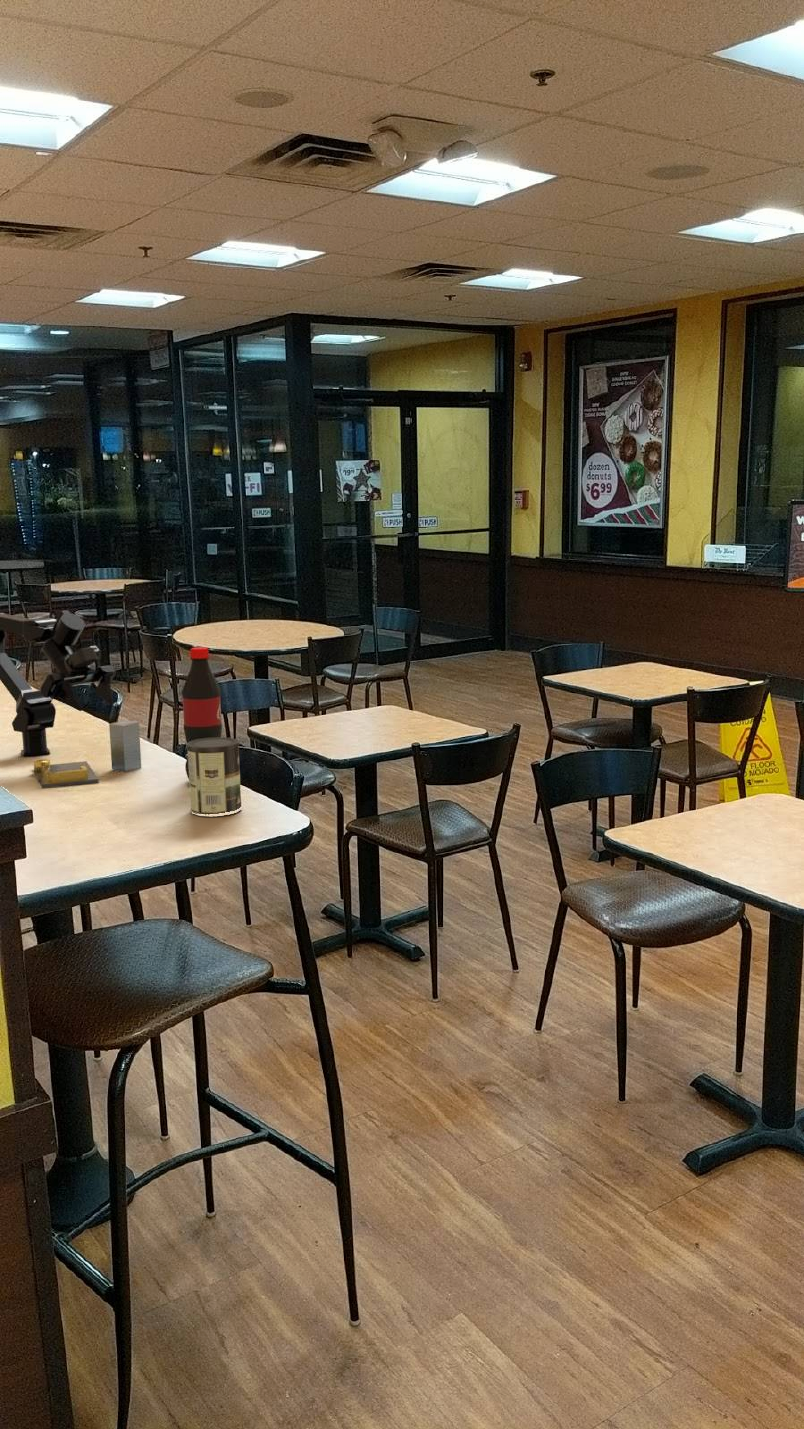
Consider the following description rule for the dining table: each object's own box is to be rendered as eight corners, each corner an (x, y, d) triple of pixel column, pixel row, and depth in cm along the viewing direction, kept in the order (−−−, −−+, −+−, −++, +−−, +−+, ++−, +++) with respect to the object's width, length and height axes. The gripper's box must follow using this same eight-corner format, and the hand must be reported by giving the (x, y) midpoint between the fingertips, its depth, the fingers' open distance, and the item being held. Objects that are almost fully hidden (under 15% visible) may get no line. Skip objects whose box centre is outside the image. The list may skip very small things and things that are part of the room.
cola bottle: (228, 776, 246) (223, 645, 241) (218, 785, 238) (212, 649, 233) (192, 776, 247) (186, 645, 242) (181, 785, 239) (174, 649, 234)
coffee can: (231, 801, 225) (228, 734, 222) (249, 813, 216) (246, 743, 213) (182, 808, 220) (179, 740, 217) (199, 820, 211) (196, 749, 208)
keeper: (32, 769, 256) (31, 758, 255) (86, 764, 260) (85, 753, 260) (40, 788, 237) (40, 776, 237) (98, 782, 242) (97, 770, 242)
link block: (112, 769, 255) (109, 723, 253) (128, 765, 259) (125, 720, 257) (125, 772, 252) (122, 725, 250) (141, 767, 256) (138, 722, 254)
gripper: (43, 639, 250) (78, 689, 245) (107, 632, 265) (142, 678, 260) (25, 672, 255) (59, 721, 251) (89, 663, 270) (123, 709, 266)
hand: (97, 706), depth 257 cm, fingers open, 9 cm apart
